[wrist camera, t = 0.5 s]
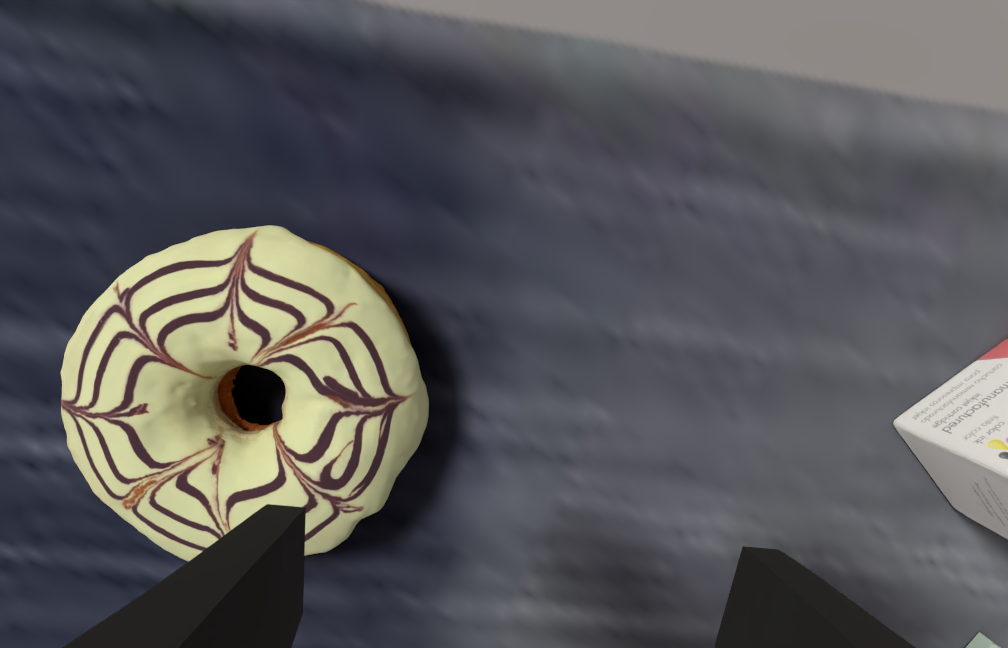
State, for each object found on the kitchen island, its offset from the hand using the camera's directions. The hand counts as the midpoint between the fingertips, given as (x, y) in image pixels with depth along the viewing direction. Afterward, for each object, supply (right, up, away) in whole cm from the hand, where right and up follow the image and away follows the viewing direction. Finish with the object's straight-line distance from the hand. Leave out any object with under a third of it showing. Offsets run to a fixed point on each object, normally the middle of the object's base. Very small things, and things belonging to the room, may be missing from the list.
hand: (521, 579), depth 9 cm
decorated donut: (-8, +2, +11) cm, 14 cm away
